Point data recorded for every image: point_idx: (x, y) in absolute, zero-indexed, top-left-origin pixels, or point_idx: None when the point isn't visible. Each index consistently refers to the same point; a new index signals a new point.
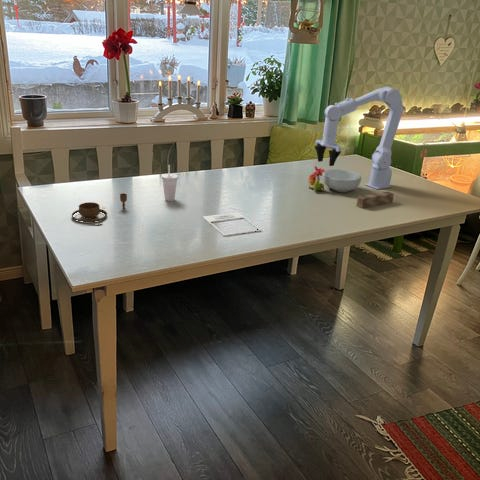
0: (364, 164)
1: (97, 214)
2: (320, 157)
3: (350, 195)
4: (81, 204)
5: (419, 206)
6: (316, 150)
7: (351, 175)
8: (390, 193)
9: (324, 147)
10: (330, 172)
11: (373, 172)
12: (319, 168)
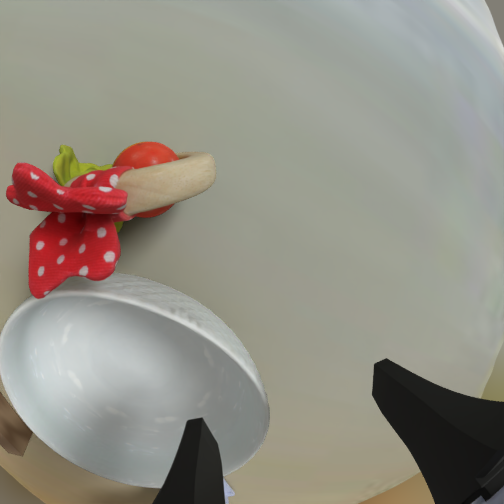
0: (398, 472)
1: None
2: (397, 402)
3: None
4: None
5: (17, 458)
6: (485, 405)
7: None
8: (3, 445)
9: (445, 499)
10: (251, 390)
11: None
12: (102, 259)
